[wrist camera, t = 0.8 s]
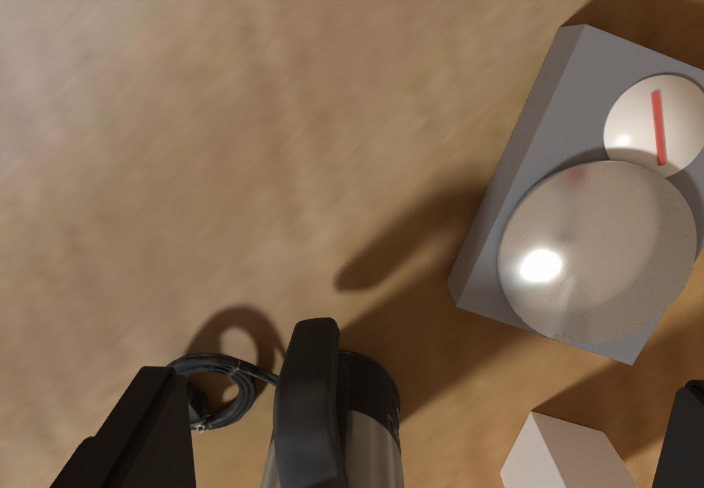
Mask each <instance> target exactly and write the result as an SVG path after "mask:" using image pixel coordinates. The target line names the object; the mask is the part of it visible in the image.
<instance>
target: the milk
mask: <svg viewBox="0 0 704 488" xmlns="http://www.w3.org/2000/svg"><path fill="white" fill-rule="evenodd" d="M500 474H501V477H502V480H503V483H504V486H505V488H639V486H638V485H637V483H636V482H635V480H634V478H633V477H632V475H631V474H630V472H629V471H628V469H627V468H626V466H625V464H624V463H623V461H622V460H621V458H620V457H619V455H618V453H617V452H616V450H615V449H614V447H613V446H612V444H611V443H610V441H609V439H608V438H607V436H606V435H605V433H604V432H602V431H599V430H595V429H592V428H588V427H585V426H581V425H578V424H574V423H571V422H567V421H564V420H561V419H557V418H554V417H550V416H547V415H543V414H540V413H536V412H533V411H531V412H530V414H529V416H528V418H527V420H526V422H525V424H524V426H523V427H522V429H521V431H520V433H519V435H518V437H517V439H516V441H515V443H514V445H513V447H512V449H511V451H510V453H509V455H508V457H507V459H506V461H505V463H504V465H503V467H502V469H501V471H500Z"/></svg>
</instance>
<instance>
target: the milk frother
mask: <svg viewBox="0 0 704 488" xmlns="http://www.w3.org/2000/svg"><path fill="white" fill-rule="evenodd" d="M339 336H340V333H339V328H338V326H337V323H336V321H335V320H334V319H332V318H330V317H327V318H314V319H307V320H303V321H300V322H298V323H297V324H296V326H295V328H294V331H293V334H292V337H291V340H290V343H289V346H288V349H287V353H286V355H285V359H284V362H283V365H282V368H281V372H280V375H279V376H278V375H275V374H273V373H271V372H269V371H267V370H265V369H263V368H260V367H258V366H255V365H253V364H251V363H249V362H246V361H243V360H240V359H237V358H234V357H232V356H228V355H223V354H218V353H195V354H189V355H186V356H183V357H180V358H178V359H176V360H174V361H172V362H171V363H170V364H168V365H167V366H166V367H174V368H175V370H176V373H177V375H184V376H185V378H186V377H188V376H190V375H192V374H196V373H199V372H211V373H217V374H221V375H225V376H227V377H229V378H231V379H232V380H233V381H234V382H235V383H236V384H237V385H238V387H239V394H238V396H237V398H236V400H235V401H234V402H233V404H232V405H231V406H229V407H228V408H227V409H225V410H224V411H222V412H220V413H217V414H215V415H212V416H208V417H207V405H208V398H207V394H206V393H200V392H199V390H198V389H197V388H196V387H194V386H193V384H192V383H190V382H187V381H186V385H187V395H188V406H189V416H190V427H191V430H195V429H197V431H198V433H200V434H201V433H204V432H205V430H206V429H209V430H212V429H216V428H221V427H225V426H228V425H230V424H233V423H235V422H237V421H238V420H240V419H241V418H242V417H243V415H244V414H245V413H246V412H247V411H248V410H249V409H250V408H251V406H252V405H253V402H254V400H255V397H256V387H255V381H254V378H253V376H255V377H257V378H259V379H261V380H263V381H265V382H268V383H270V384H272V385H274V386H276V389H275V397H274V409H273V432H272V437H271V442H270V446H269V450H268V455H267V459H266V463H265V468H264V472H263V476H262V481H261V485H260V488H404V478H403V469H402V462H401V449H400V440H399V432H398V430H399V413H400V399H399V394H398V390H397V387H396V385H395V383H394V381H393V380H392V378H391V377H390V375H389V374H388V373H387V372H386V371H385V370H384V369H383V368H382V367H381V366H380V365H379V364H377V363H376V362H374V361H372V360H370V359H369V358H367V357H364V356H362V355H359V354H356V353H351V352H345V351H339ZM252 375H253V376H252Z"/></svg>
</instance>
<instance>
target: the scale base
mask: <svg viewBox="0 0 704 488" xmlns="http://www.w3.org/2000/svg"><path fill="white" fill-rule="evenodd" d="M602 159H608V160H620V161H625V162H630V163H633V164H636V165H639V166H642V167H645V168H647V169H649V170H651V171H653V172H655V173H657V174H659V175H661V176H662V177H664V178H665V179H666V180H668V181H669V182H671V183H672V184H673V185H674V186H675V187H676V188H677V189H678V190H679V192H680V193H681V194H682V196H683V197H684V199H685V200H686V202H687V204H688V206H689V208H690V210H691V212H692V215H693V218H694V221H695V226H696V233H697V248H696V255H695V260H696V258H697V257H698V255H699V253H700V252H701V250H702V248H703V247H704V70H701V69H699V68H696V67H693V66H691V65H688V64H686V63H683V62H681V61H678V60H676V59H673V58H671V57H668V56H666V55H663V54H661V53H658V52H656V51H653V50H650V49H648V48H645V47H643V46H640V45H638V44H635V43H633V42H630V41H628V40H625V39H623V38H620V37H618V36H615V35H613V34H610V33H608V32H605V31H602V30H600V29H597V28H595V27H592V26H590V25H587V24H581V25H573V26H565V27H559V29H558V31H557V34H556V36H555V38H554V40H553V43H552V45H551V47H550V49H549V52H548V54H547V56H546V58H545V61H544V63H543V65H542V67H541V70H540V72H539V74H538V76H537V79H536V81H535V83H534V85H533V88H532V90H531V92H530V94H529V97H528V99H527V101H526V103H525V106H524V108H523V110H522V112H521V115H520V117H519V119H518V121H517V124H516V126H515V128H514V130H513V133H512V135H511V137H510V139H509V142H508V144H507V146H506V148H505V150H504V153H503V155H502V157H501V159H500V162H499V164H498V166H497V168H496V171H495V173H494V175H493V177H492V180H491V182H490V184H489V186H488V189H487V191H486V193H485V195H484V198H483V200H482V202H481V204H480V207H479V209H478V211H477V213H476V216H475V218H474V220H473V222H472V225H471V227H470V229H469V231H468V234H467V236H466V238H465V240H464V243H463V245H462V247H461V249H460V252H459V254H458V256H457V258H456V261H455V263H454V265H453V267H452V270H451V272H450V274H449V276H448V279H447V281H446V282H447V285H448V287H449V290H450V293H451V295H452V298H453V301H454V303H455V306H456V307H457V308H460V309H463V310H466V311H469V312H472V313H475V314H478V315H481V316H484V317H487V318H490V319H493V320H496V321H499V322H502V323H505V324H508V325H511V326H514V327H517V328H520V329H523V330H526V331H529V332H532V333H535V334H538V335H541V336H544V337H547V336H545V335H543V334H541V333H539V332H537V331H536V330H534V329H533V328H531V327H530V326H529V325H527V324H526V323H525V322H524V321H523V320H522V319H521V318H520V317H519V316H518V315H517V314H516V313H515V311H514V310H513V308H512V307H511V305H510V304H509V302H508V300H507V299H506V297H505V295H504V292H503V290H502V288H501V285H500V282H499V278H498V273H497V248H498V242H499V238H500V235H501V232H502V229H503V227H504V224H505V222H506V220H507V218H508V216H509V215H510V213H511V211H512V210H513V208H514V207H515V206H516V204H517V203H518V202H519V200H520V199H521V198H522V197H523V196H524V195H525V194H526V193H527V192H528V191H529V190H530V189H531V188H532V187H533V186H535V185H536V184H537V183H538V182H540V181H541V180H542V179H544V178H546V177H547V176H549V175H550V174H552V173H554V172H556V171H558V170H560V169H563V168H565V167H567V166H570V165H573V164H577V163H580V162H585V161H590V160H602ZM695 260H694V262H695ZM664 312H665V311H664ZM664 312H663V313H664ZM663 313H662V314H661V315H660V316H659V317H657V318H656V319H655V320H654V321H652V322H651V323H649V324H648V325H646V326H645V327H643V328H641V329H640V330H638V331H636V332H634V333H632V334H629V335H627V336H624V337H622V338H619V339H615V340H612V341H608V342H602V343H595V344H575V343H568V342H562V341H559V340H556V341H559V342H562V343H565V344H568V345H571V346H574V347H577V348H580V349H583V350H586V351H589V352H592V353H595V354H598V355H601V356H604V357H607V358H610V359H613V360H616V361H619V362H622V363H625V364H628V365H631V366H632V365H633V363H634V362H635V360H636V358H637V357H638V355H639V353H640V352H641V350H642V348H643V347H644V345H645V343H646V342H647V340H648V338H649V337H650V335H651V333H652V332H653V330H654V328H655V327H656V325H657V323H658V322H659V320H660V318H661V317H662V315H663ZM547 338H549V337H547ZM550 339H552V338H550ZM553 340H555V339H553Z"/></svg>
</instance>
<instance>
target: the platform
mask: <svg viewBox="0 0 704 488" xmlns="http://www.w3.org/2000/svg"><path fill="white" fill-rule="evenodd" d="M696 248H697V233H696V226H695V221H694V218H693V215H692V212H691V210H690V208H689V206H688V204H687V202H686V200H685V199H684V197H683V196H682V194H681V193H680V192H679V190H678V189H677V188H676V187H675V186H674V185H673V184H672V183H671V182H669V181H668V180H666V179H665V178H664V177H662V176H661V175H659V174H657V173H655V172H653V171H651V170H649V169H647V168H645V167H642V166H639V165H636V164H633V163H630V162H625V161H620V160H608V159H602V160H590V161H585V162H580V163H577V164H573V165H570V166H567V167H565V168H563V169H560V170H558V171H556V172H554V173H552V174H550V175H549V176H547V177H546V178H544V179H542V180H541V181H540V182H538V183H537V184H536V185H535V186H533V187H532V188H531V189H530V190H529V191H528V192H527V193H526V194H525V195H524V196H523V197H522V198H521V199H520V200H519V202H518V203H517V204H516V206H515V207H514V208H513V210H512V211H511V213H510V215H509V216H508V218H507V220H506V222H505V224H504V227H503V229H502V232H501V235H500V238H499V242H498V248H497V273H498V278H499V282H500V285H501V288H502V290H503V292H504V295H505V297H506V299H507V300H508V302H509V304H510V305H511V307H512V308H513V310H514V311H515V313H516V314H517V315H518V316H519V317H520V318H521V319H522V320H523V321H524V322H525V323H526V324H527V325H529V326H530V327H531V328H533V329H534V330H536V331H537V332H539V333H541V334H543V335H545V336H547V337H549V338H552V339H555V340H559V341H562V342H568V343H575V344H595V343H602V342H608V341H612V340H615V339H619V338H622V337H624V336H627V335H629V334H632V333H634V332H636V331H638V330H640V329H641V328H643V327H645V326H646V325H648V324H649V323H651V322H652V321H654V320H655V319H656V318H657V317H659V316H660V315H661V314H662V313H663V312H664V311H665V310H666V309H667V308H668V307H669V306H670V305H671V304H672V303H673V302H674V300H675V299H676V298H677V296H678V295H679V294H680V292H681V291H682V289H683V287H684V286H685V284H686V282H687V280H688V278H689V275H690V273H691V271H692V268H693V264H694V260H695V255H696Z"/></svg>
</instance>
